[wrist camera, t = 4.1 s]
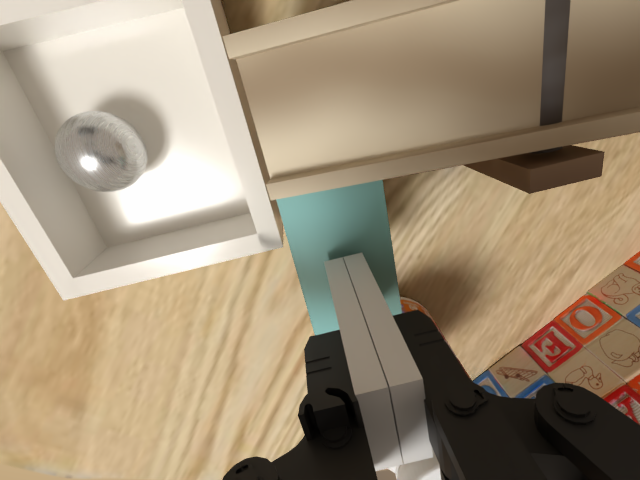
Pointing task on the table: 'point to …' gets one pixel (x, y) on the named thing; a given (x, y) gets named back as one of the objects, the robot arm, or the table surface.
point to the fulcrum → (544, 168)
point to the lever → (421, 107)
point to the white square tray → (154, 127)
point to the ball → (100, 151)
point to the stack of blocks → (583, 347)
